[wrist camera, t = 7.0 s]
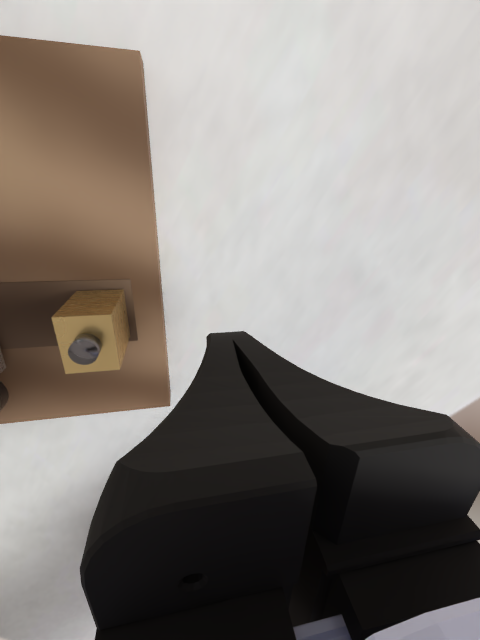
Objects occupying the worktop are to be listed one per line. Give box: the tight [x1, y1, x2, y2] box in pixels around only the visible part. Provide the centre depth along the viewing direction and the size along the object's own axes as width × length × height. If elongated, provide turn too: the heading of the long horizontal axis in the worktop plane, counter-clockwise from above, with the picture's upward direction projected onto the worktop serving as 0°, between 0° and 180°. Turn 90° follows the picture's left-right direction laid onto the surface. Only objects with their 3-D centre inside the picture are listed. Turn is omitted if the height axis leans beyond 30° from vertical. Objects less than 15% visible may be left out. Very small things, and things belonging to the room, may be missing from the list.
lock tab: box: [51, 289, 130, 374], centre depth 12 cm, size 2×2×4 cm
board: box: [0, 35, 170, 424], centre depth 13 cm, size 16×12×1 cm
